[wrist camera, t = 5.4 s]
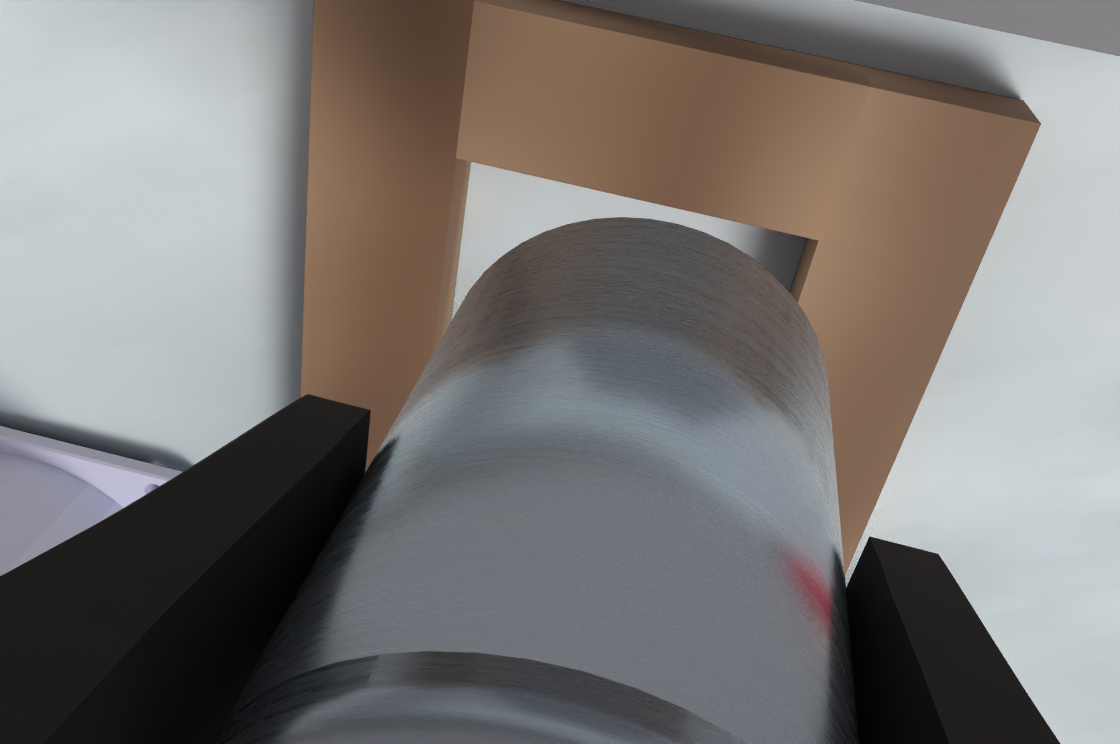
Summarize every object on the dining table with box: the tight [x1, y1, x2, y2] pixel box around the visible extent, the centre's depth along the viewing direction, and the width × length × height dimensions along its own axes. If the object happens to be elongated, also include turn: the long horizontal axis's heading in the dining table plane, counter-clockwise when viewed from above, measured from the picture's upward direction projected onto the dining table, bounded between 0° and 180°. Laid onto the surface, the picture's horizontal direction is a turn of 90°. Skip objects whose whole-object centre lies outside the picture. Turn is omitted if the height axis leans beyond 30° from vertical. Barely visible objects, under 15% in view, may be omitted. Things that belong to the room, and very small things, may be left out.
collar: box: [300, 0, 1041, 574], centre depth 18 cm, size 11×11×1 cm
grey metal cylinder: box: [211, 217, 859, 744], centre depth 9 cm, size 4×4×7 cm
